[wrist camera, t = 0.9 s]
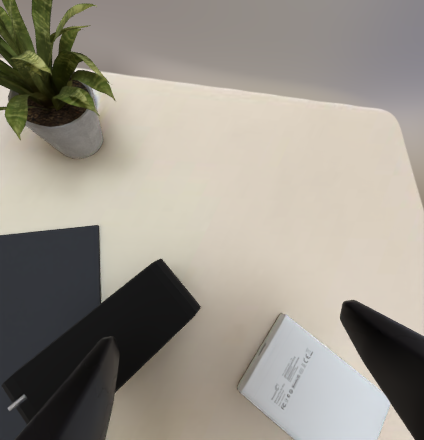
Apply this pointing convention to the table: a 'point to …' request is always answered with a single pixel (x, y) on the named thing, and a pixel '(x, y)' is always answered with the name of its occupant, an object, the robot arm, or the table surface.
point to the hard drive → (311, 388)
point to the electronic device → (105, 327)
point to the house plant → (50, 81)
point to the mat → (42, 298)
